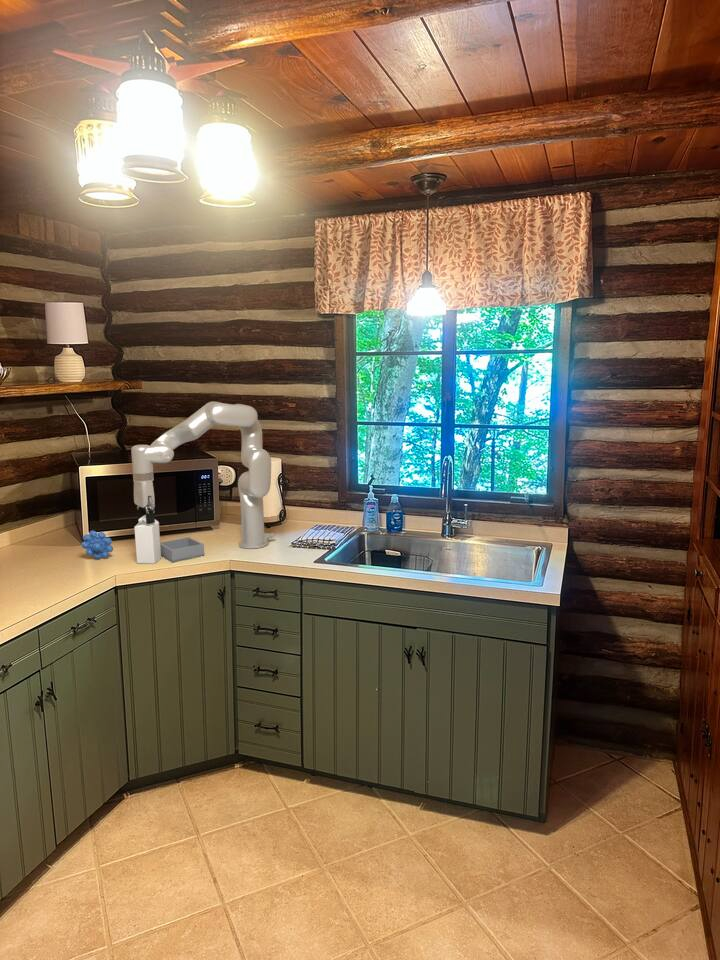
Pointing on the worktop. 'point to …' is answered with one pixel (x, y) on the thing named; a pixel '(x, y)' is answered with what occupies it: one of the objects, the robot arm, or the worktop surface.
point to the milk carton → (147, 541)
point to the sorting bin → (181, 549)
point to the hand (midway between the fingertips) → (146, 520)
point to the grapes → (97, 544)
